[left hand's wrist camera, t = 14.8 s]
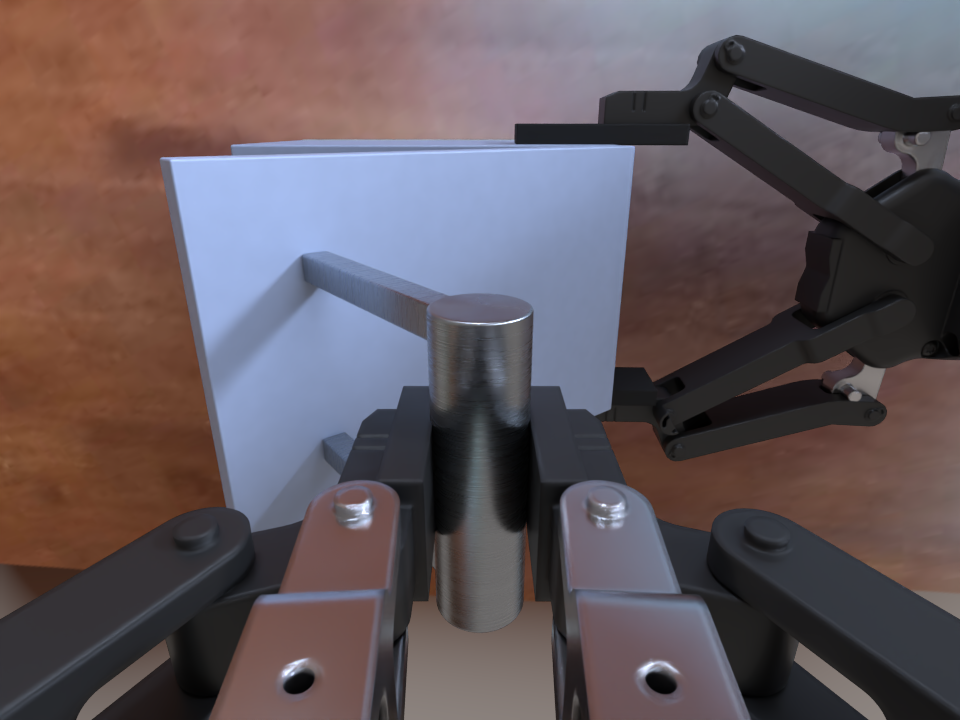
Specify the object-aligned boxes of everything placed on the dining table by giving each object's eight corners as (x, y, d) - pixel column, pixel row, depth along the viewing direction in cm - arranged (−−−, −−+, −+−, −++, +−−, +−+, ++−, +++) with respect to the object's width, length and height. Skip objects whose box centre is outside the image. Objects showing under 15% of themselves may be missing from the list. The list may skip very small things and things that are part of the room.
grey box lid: (233, 544, 16) (381, 797, 10) (158, 157, 13) (322, 186, 6) (593, 401, 25) (793, 491, 19) (614, 145, 21) (873, 152, 15)
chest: (325, 327, 34) (266, 395, 25) (306, 139, 30) (229, 144, 22) (574, 329, 34) (600, 400, 25) (585, 139, 30) (622, 144, 21)
